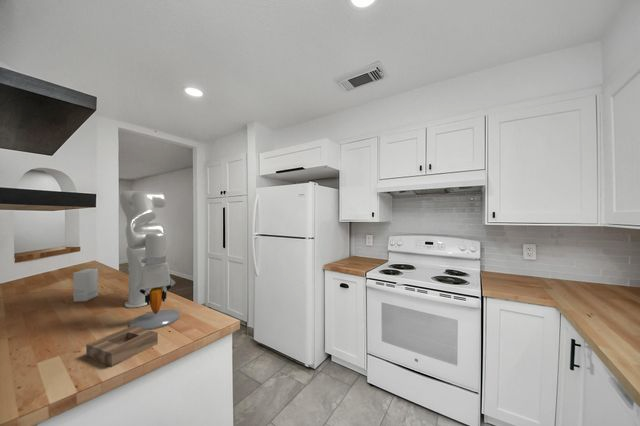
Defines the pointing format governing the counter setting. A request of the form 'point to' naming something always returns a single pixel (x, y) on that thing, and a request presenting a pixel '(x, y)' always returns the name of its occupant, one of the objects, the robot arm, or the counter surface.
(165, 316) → the plate
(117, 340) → the pocket block
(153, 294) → the carrot
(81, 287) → the skincare box
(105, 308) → the counter surface
